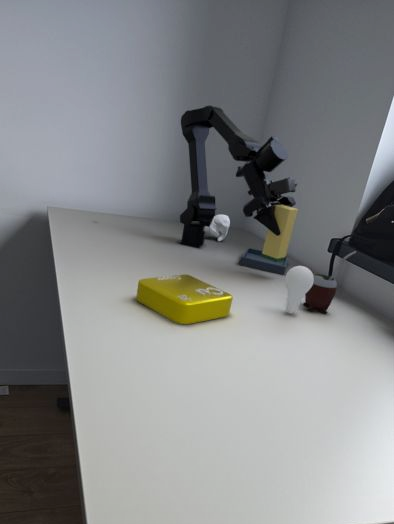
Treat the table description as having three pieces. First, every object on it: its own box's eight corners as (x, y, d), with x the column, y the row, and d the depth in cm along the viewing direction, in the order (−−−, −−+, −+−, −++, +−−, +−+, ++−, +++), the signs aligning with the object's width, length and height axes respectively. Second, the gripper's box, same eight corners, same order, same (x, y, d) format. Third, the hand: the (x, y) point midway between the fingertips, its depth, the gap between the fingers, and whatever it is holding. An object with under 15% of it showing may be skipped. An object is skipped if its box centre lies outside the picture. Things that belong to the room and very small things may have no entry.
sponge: (260, 257, 134) (273, 204, 128) (269, 255, 138) (282, 204, 132) (276, 262, 132) (289, 209, 126) (284, 260, 135) (298, 209, 129)
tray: (239, 264, 144) (241, 256, 143) (246, 254, 158) (247, 247, 157) (283, 274, 142) (285, 267, 141) (286, 263, 156) (288, 256, 155)
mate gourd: (294, 306, 117) (311, 243, 111) (311, 301, 122) (328, 242, 116) (322, 317, 113) (341, 253, 106) (338, 312, 118) (357, 251, 112)
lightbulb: (305, 313, 113) (318, 267, 109) (301, 321, 108) (315, 272, 103) (279, 306, 114) (291, 260, 110) (274, 313, 109) (287, 265, 105)
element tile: (184, 291, 112) (187, 271, 110) (232, 316, 103) (237, 294, 101) (131, 298, 101) (134, 276, 100) (180, 326, 93) (185, 302, 91)
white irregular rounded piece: (231, 217, 164) (195, 213, 164) (228, 242, 167) (193, 239, 167) (230, 214, 170) (195, 210, 170) (227, 238, 173) (193, 235, 173)
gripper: (263, 162, 120) (291, 219, 119) (298, 166, 134) (323, 217, 133) (230, 188, 127) (256, 242, 126) (267, 189, 141) (290, 238, 140)
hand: (283, 234), depth 131 cm, fingers closed on sponge, 5 cm apart
